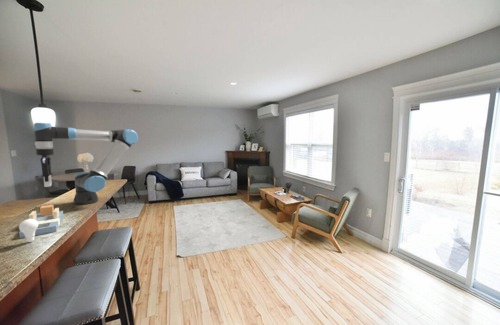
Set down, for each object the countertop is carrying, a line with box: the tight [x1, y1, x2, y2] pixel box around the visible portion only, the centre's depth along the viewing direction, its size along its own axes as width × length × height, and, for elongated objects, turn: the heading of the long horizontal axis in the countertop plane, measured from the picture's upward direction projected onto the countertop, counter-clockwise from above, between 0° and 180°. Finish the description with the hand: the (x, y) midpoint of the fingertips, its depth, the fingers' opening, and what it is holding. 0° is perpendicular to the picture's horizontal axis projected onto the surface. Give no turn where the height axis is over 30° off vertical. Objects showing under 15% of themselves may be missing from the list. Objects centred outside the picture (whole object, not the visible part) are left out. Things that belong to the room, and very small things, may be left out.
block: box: [39, 204, 55, 217], centre depth 122 cm, size 5×5×5 cm
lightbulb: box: [18, 218, 38, 243], centre depth 95 cm, size 6×6×11 cm
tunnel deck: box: [18, 207, 64, 239], centre depth 114 cm, size 28×13×7 cm, turn 37°
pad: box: [37, 218, 61, 228], centre depth 112 cm, size 6×13×3 cm, turn 127°
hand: (48, 185), depth 128 cm, fingers open, 3 cm apart
